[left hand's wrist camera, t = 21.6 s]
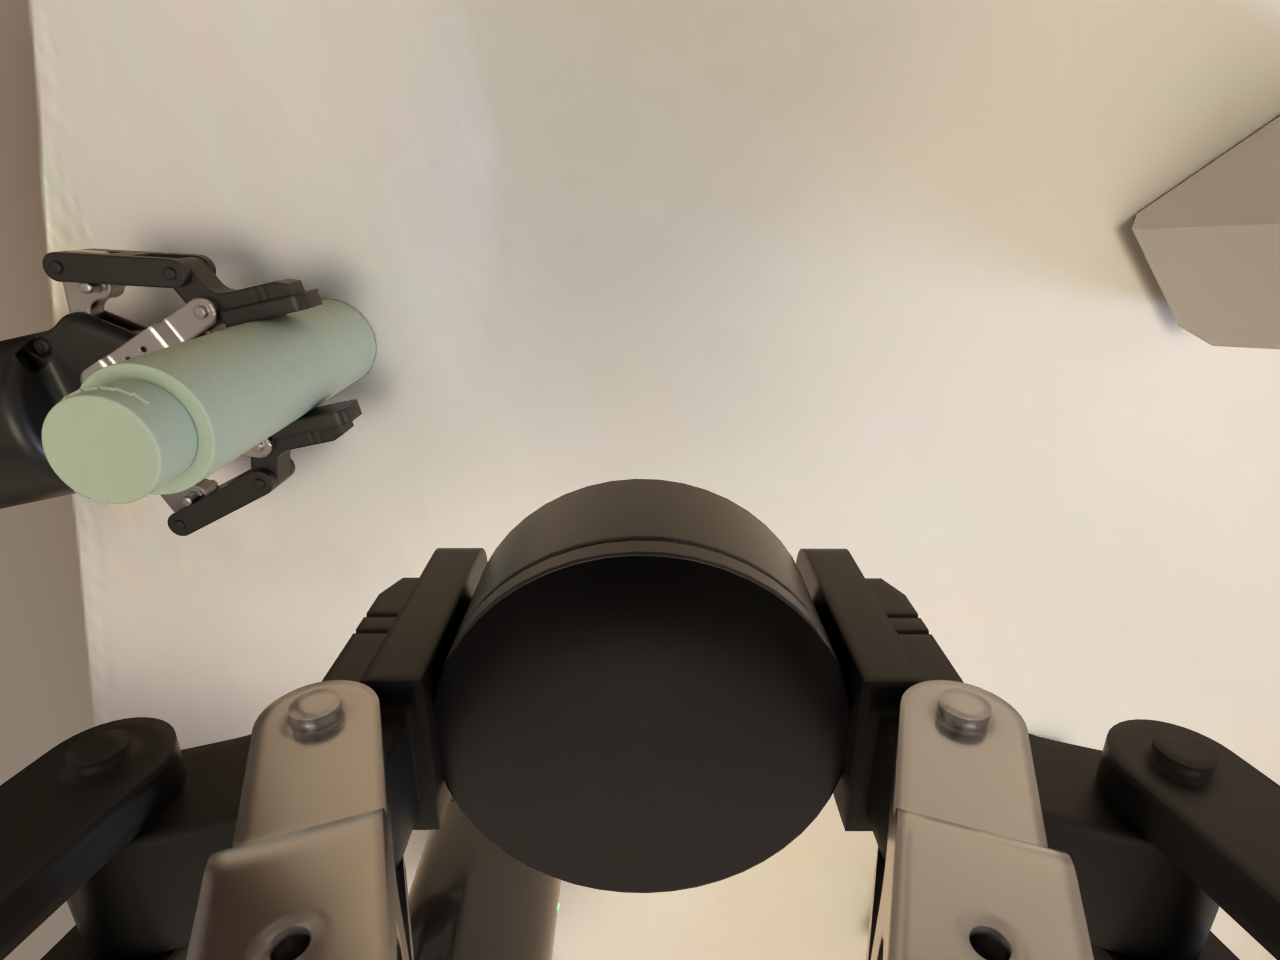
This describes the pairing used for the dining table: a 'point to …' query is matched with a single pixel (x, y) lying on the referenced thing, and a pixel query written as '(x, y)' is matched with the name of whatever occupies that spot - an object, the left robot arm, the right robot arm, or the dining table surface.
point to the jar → (201, 402)
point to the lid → (641, 692)
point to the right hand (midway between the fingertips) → (332, 356)
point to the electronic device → (1222, 245)
